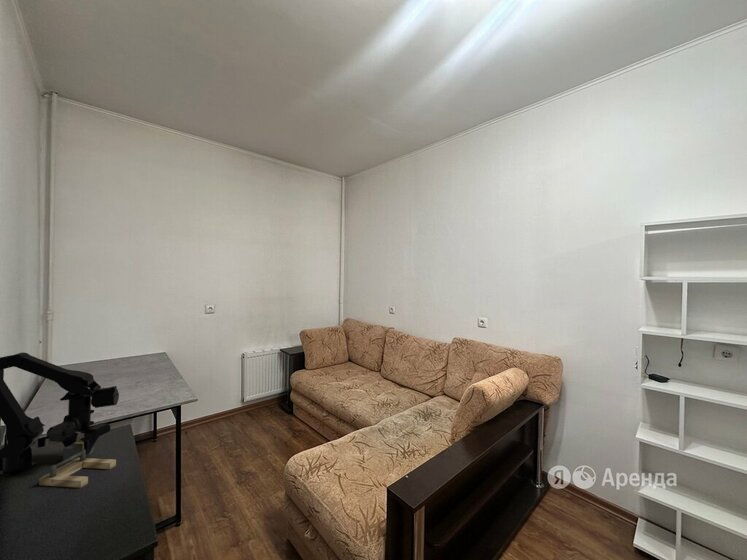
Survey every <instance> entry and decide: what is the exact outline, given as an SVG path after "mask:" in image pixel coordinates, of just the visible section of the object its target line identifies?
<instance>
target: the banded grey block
mask: <svg viewBox="0 0 747 560" xmlns="http://www.w3.org/2000/svg"><path fill="white" fill-rule="evenodd" d="M94 446H95V445H94ZM94 446H93V448H92V449H91V451H90V453H89V454H88V455H86V457H87V456H89V455H91V454H92V453H94V450H95V449H94ZM81 450H84V442H83V441H81V440H80V439H79V440H78V441H76V442H75V443H73V444H71V445H69V446H67V447H65V446H64V447H63V452H62V453H63V455H62V457H63V458H62V461H64V460H66V459H67V458H69V457H71V456H73V455H75V454H77V453H79V452H80V451H81ZM77 458H80V456H79V457H77ZM77 458H75V459H77ZM75 459H73V460H75ZM73 460H71V461H73ZM71 461H69V462H71ZM69 462H67V463H66V464H68V463H69Z"/></svg>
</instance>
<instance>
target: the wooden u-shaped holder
mask: <svg viewBox="0 0 747 560" xmlns="http://www.w3.org/2000/svg"><path fill="white" fill-rule="evenodd" d="M79 456H80V458H77V457H79ZM75 458H77V459H75ZM73 459H75V460H73ZM71 460H73V461H71ZM69 461H71V462H69ZM67 462H69V463H67ZM116 466H117V459H111V458H110V459H108V458H107V459H106V458H93V457H92V458H91V457H90V458H89V457H87V456H86V450H85V449H84V450H81V451H80V452H79V453H77V454H75V455H73V456H71V457H69V458H67V459H66V460H64V461H63V460H62V461H60V462H58V463H56V464H52V465H50V466H49V473H46V474H45V475H42V476H41V477H40V478H39V480H38V481H39V483H38V485H39V486H45V487H46V486H47V487H64V488H65V487H66V488H78V489H81V488H84V487H85V486H86V485H88V484H89V476H84V475H81V476H80V475H72V474H75V473H77V472H78V471H79V470H81V469H100V470H101V469H102V470H111V469H113V468H114V467H116Z"/></svg>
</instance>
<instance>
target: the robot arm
mask: <svg viewBox="0 0 747 560" xmlns="http://www.w3.org/2000/svg"><path fill="white" fill-rule="evenodd" d="M10 368H18V369H20V370H23V371H25V372H28V373H31V374H33V375H35V376H39V377H41V378H45V379H47V380H49V381H53V382H55V384H57V385H58V387H60V388H62V389H63V390H65V391H67V392H66V393H65V395H63V397H60V399H59V400H60V401H68V406H67V407H68V410H67V412H68V414H66V415H64V417H63V421H62V422H61V423H58V424H55V425H53V426H50V427H49V428H48V430H47V431H46V437H47V438H48V440H49V441H50V442H57V443H60V442H61V443H62V445H63V446H64V448H65V447H67V446H69V445H71V444H73V443H75V442H77V438H78V435H79V434H83V436H84V437H82V438H80V439H79V441H80V440H81V441H83V442H84V449H85V450H86V455H87V456H89V455H90V454H89V453H90V451H91V449H92V448H93V446H95V444H96V442H97V441H98V439H99V437H101V436H103V435H106V434H107V433H110V432H111V424H110V423H98V424H95V421H93V420H92V419H91V417H92V414H93V413H95V409H97V408H99V409H100V408H106V407H112V406H117V404H118V402H119V397H120V392H119V390H118V389H117V388H118V387H117V385H115V386H113V385H112V386H110V387H102V386H101V385H100V384H99V383H98V382H97V381H95V379H94V375H93V374H91V373H90V372H86V371H81V370H74V369H73V370H72V369H67V368H64V367H61V366H59V365H56V364H53V363H51V362H49V361H45V360H43V359H40V358H38V357H36V356H34V355H30V354H29V353H27V352H18V353H16V354H12V355H6V356H5V355H4V356H2V357H1V356H0V419H1V421H2V423H3V424H4V425H5V440H6V442H7V444H5V446H3V447H2V448H1V449H0V460H1V459H2V470H0V476H8V477H12V476H13V477H14V476H17V475H18V474H21V473H22V472H24V471H26V470H28V469H30V468H32V467H34V466H37V465H38V462H33V448H32V447H31V446H32V445H34V444H35V443H36V441H37V440H38V439H39V438H40V437H42V435H43V433H44V431H45V428H44V427H45V424H43V422H42V421H41V419H40V416H39V415H38V416H37V415H36V417H30V416H28V415H27V414H26V413H25V411H24V409H23V408H22V407H21V404H20V403H19V402H18V400H17V399H16V397H15V395H14V394H13V393H12V391H11V389H10V388H9V387H8V385H7V383H6V382H5V380H4V377H5V369H10ZM92 407H93V408H95V409H92ZM94 424H95V425H94ZM88 454H89V455H88Z"/></svg>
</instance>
